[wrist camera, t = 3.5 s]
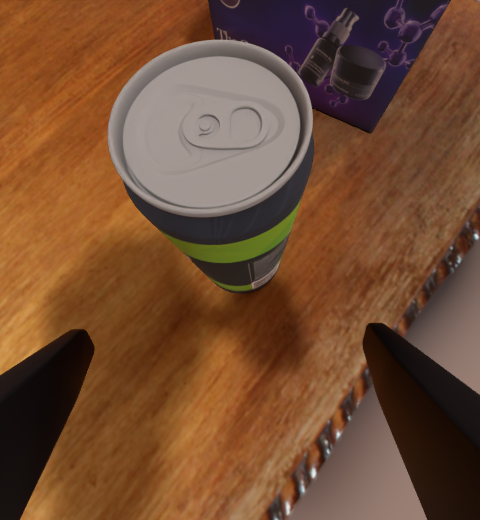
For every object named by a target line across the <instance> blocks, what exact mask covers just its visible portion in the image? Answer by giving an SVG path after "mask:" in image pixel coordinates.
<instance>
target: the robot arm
mask: <svg viewBox="0 0 480 520" xmlns="http://www.w3.org/2000/svg"><path fill="white" fill-rule="evenodd" d="M363 350H364V354H365V357H366V361H367V364H368V367H369V371H370V374H371V378H372V381H373V384H374V388H375V391H376V394H377V397H378V400H379V403H380V405H381V407H382V410H383V413H384V415H385V417H386V420H387V422H388V425H389V427H390V430H391V432H392V435H393V437H394V440H395V442H396V444H397V447H398V449H399V452H400V454H401V457H402V459H403V462H404V464H405V466H406V469H407V471H408V474H409V476H410V478H411V481H412V483H413V486H414V488H415V491H416V493H417V496H418V498H419V500H420V503H421V505H422V508H423V510H424V512H425V515H426V517H427V520H480V395H479V394H478V393H476V392H475V391H474V390H472V389H471V388H470V387H468V386H467V385H466V384H464V383H463V382H461V381H460V380H459V379H457V378H456V377H455V376H454V375H452V374H451V373H450V372H448V371H447V370H445V369H444V368H443V367H441V366H440V365H439V364H437V363H436V362H435V361H433V360H432V359H431V358H429V357H428V356H427V355H425V354H424V353H423V352H421V351H420V350H418V349H417V348H416V347H414V346H413V345H412V344H410V343H409V342H408V341H406V340H405V339H404V338H402V337H401V336H400V335H398V334H397V333H396V332H394V331H393V330H392V329H390V328H389V327H388V326H386V325H385V324H383V323H369V324H368V325H367V327H366V330H365V334H364V338H363ZM94 351H95V347H94V344H93V342H92V340H91V338H90V336H89V334H88V332H87V331H86V330H85V329H72V330H70V331H68V332H66V333H65V334H63V335H62V336H60V337H59V338H57V339H56V340H54V341H53V342H51V343H49V344H48V345H46V346H45V347H43V348H42V349H40V350H39V351H37V352H36V353H34V354H33V355H31V356H29V357H28V358H26V359H25V360H23V361H22V362H20V363H19V364H17V365H16V366H14V367H12V368H11V369H9V370H8V371H6V372H5V373H3V374H2V375H0V520H20V518H21V516H22V514H23V512H24V510H25V508H26V506H27V504H28V501H29V499H30V497H31V495H32V493H33V491H34V489H35V487H36V485H37V483H38V480H39V478H40V476H41V474H42V472H43V470H44V468H45V466H46V464H47V462H48V459H49V457H50V455H51V453H52V451H53V449H54V447H55V445H56V443H57V441H58V439H59V436H60V434H61V432H62V430H63V428H64V426H65V424H66V422H67V420H68V418H69V415H70V413H71V411H72V409H73V407H74V405H75V403H76V400H77V398H78V395H79V393H80V390H81V388H82V385H83V382H84V380H85V377H86V374H87V371H88V369H89V366H90V363H91V360H92V358H93V355H94Z"/></svg>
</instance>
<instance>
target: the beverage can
mask: <svg viewBox="0 0 480 520" xmlns="http://www.w3.org/2000/svg"><path fill="white" fill-rule="evenodd" d="M312 126H313V113H312V106H311V101H310V98H309V95H308V92H307V90H306V88H305V86H304V84H303V82H302V80H301V79H300V77H299V76H298V75H297V73H296V72H295V71H294V70H293V69H292V68H291V67H290V66H289V65H288V64H287V63H286V62H285V61H284V60H282V59H281V58H280V57H278V56H277V55H275V54H273V53H272V52H270V51H268V50H266V49H264V48H261V47H259V46H256V45H253V44H249V43H245V42H240V41H234V40H206V41H199V42H194V43H190V44H186V45H183V46H179V47H177V48H174V49H172V50H169V51H167V52H165V53H163V54H161V55H159V56H158V57H156V58H154V59H153V60H151V61H150V62H148V63H147V64H146V65H144V66H143V67H142V68H141V69H140V70H139V71H137V72H136V73H135V74H134V75H133V76H132V77H131V79H130V80H129V81H128V82H127V83H126V85H125V86H124V87H123V89H122V90H121V92H120V94H119V95H118V97H117V99H116V101H115V103H114V106H113V108H112V111H111V115H110V119H109V124H108V146H109V151H110V155H111V159H112V161H113V164H114V166H115V168H116V170H117V172H118V173H119V175H120V177H121V178H122V179H123V182H124V185H125V188H126V190H127V193H128V195H129V197H130V198H131V200H132V202H133V203H134V204H135V206H136V207H137V208H138V210H139V211H140V212H141V213H142V214H143V215H144V216H145V217H146V218H147V219H148V220H149V221H150V222H151V223H152V224H153V225H154V226H156V227H157V228H158V229H159V230H160V231H161V232H162V233H163V234H164V235H165V236H166V237H167V238H168V239H169V240H170V241H171V242H172V243H173V244H174V245H175V246H176V247H178V248H179V249H180V250H181V251H182V252H183V253H184V254H185V255H186V256H187V257H188V258H189V259H190V260H191V261H192V262H193V263H194V264H195V265H196V266H197V267H198V268H200V269H201V270H202V271H203V272H204V273H205V274H206V275H207V276H208V277H209V278H210V279H211V280H212V281H213V282H214V283H215V284H216V285H218V286H219V287H221V288H222V289H224V290H226V291H229V292H233V293H250V292H253V291H256V290H258V289H260V288H262V287H264V286H265V285H266V284H268V283H269V282H270V281H271V280H272V278H273V277H274V276H275V274H276V272H277V270H278V267H279V264H280V261H281V258H282V255H283V252H284V249H285V246H286V243H287V240H288V237H289V234H290V231H291V228H292V225H293V222H294V219H295V216H296V213H297V210H298V207H299V204H300V201H301V198H302V195H303V192H304V189H305V186H306V183H307V180H308V177H309V174H310V171H311V167H312V162H313V155H314V140H313V133H312Z"/></svg>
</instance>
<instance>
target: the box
mask: <svg viewBox="0 0 480 520" xmlns="http://www.w3.org/2000/svg"><path fill="white" fill-rule="evenodd" d="M450 1H451V0H208V2H209V7H210V13H211V19H212V25H213V31H214V36H215V40H234V41H240V42H245V43H249V44H253V45H256V46H259V47H261V48H264V49H266V50H268V51H270V52H272V53H273V54H275V55H277V56H278V57H280V58H281V59H282V60H284V61H285V62H286V63H287V64H288V65H289V66H290V67H291V68H292V69H293V70H294V71H295V72H296V73H297V75H298V76H299V77H300V79H301V80H302V82H303V84H304V86H305V88H306V90H307V92H308V95H309V98H310V101H311V106H312V107H313V108H315V109H318V110H320V111H322V112H324V113H326V114H329V115H331V116H333V117H336V118H338V119H340V120H342V121H345V122H347V123H349V124H352V125H354V126H356V127H359V128H361V129H363V130H365V131H367V132H369V133H372V132H373V130H374V128H375V126H376V125H377V123H378V122H379V120H380V118H381V117H382V115H383V113H384V112H385V110H386V108H387V107H388V105H389V103H390V102H391V100H392V99H393V97H394V95H395V93H396V92H397V90H398V88H399V87H400V85H401V83H402V82H403V80H404V78H405V77H406V75H407V73H408V72H409V70H410V68H411V67H412V65H413V63H414V62H415V60H416V58H417V57H418V55H419V53H420V52H421V50H422V48H423V47H424V45H425V43H426V41H427V40H428V38H429V36H430V35H431V33H432V31H433V30H434V28H435V26H436V25H437V23H438V21H439V19H440V18H441V16H442V14H443V13H444V11H445V9H446V8H447V6H448V4H449V3H450Z"/></svg>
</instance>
